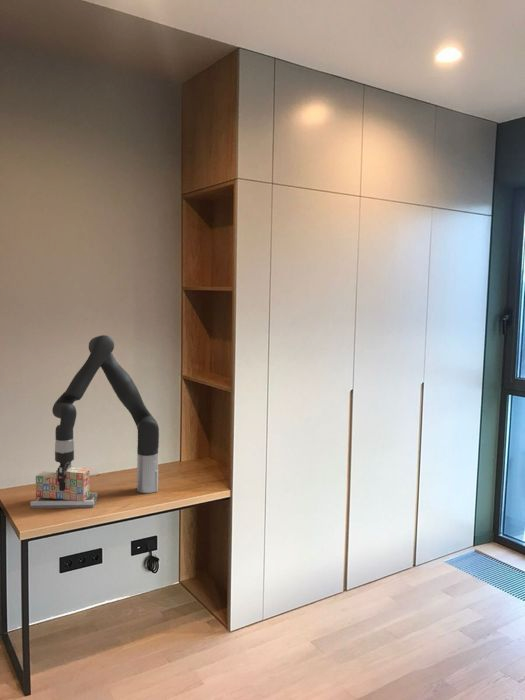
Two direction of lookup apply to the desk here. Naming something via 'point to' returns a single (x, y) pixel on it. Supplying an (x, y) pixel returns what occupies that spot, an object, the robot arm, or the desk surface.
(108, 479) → the desk surface
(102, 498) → the desk surface
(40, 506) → the base board
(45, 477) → the stack of blocks
